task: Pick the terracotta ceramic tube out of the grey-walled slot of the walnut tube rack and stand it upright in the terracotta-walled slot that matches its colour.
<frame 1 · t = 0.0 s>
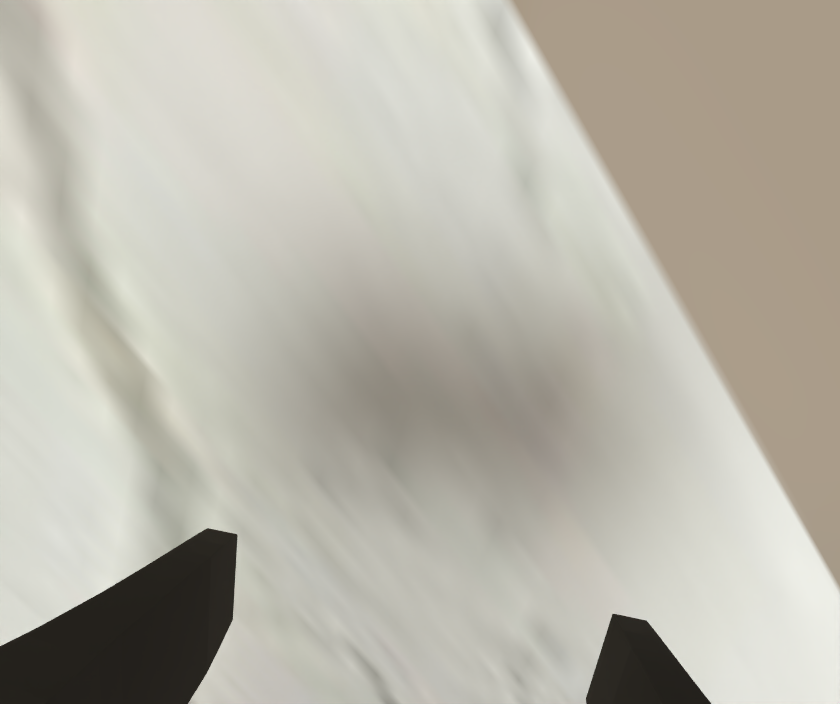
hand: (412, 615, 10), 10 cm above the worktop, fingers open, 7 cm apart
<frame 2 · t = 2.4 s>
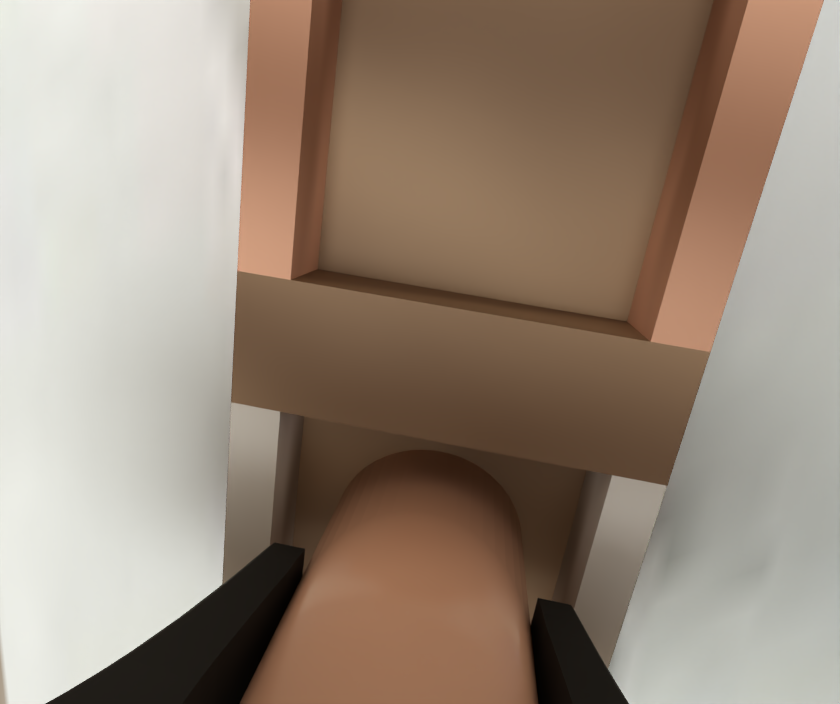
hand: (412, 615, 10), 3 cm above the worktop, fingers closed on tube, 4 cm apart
tube: (426, 534, 12), point 1 cm above the worktop, touching gripper, rack
rack: (460, 344, 12), on the worktop
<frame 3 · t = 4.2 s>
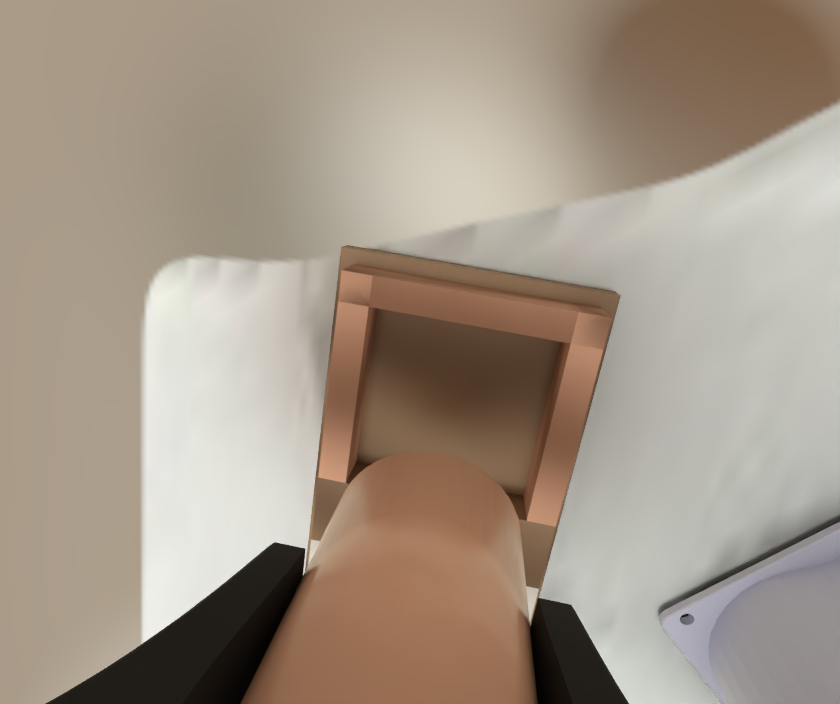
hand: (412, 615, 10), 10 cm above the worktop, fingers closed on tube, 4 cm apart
tube: (426, 535, 13), point 8 cm above the worktop, touching gripper
rack: (435, 497, 21), on the worktop
when the fingers open (4 cm above the worktop, at t = 5.9 s): tube stays where it is, resting on rack.
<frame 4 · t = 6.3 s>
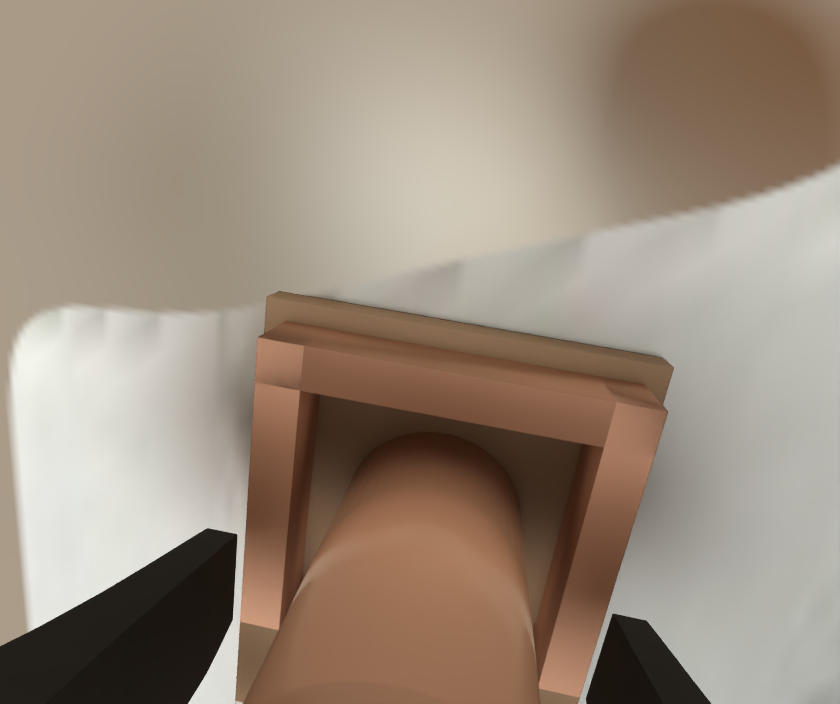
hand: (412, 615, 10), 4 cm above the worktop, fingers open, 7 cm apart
tube: (432, 511, 13), point 1 cm above the worktop, touching rack
rack: (411, 625, 15), on the worktop
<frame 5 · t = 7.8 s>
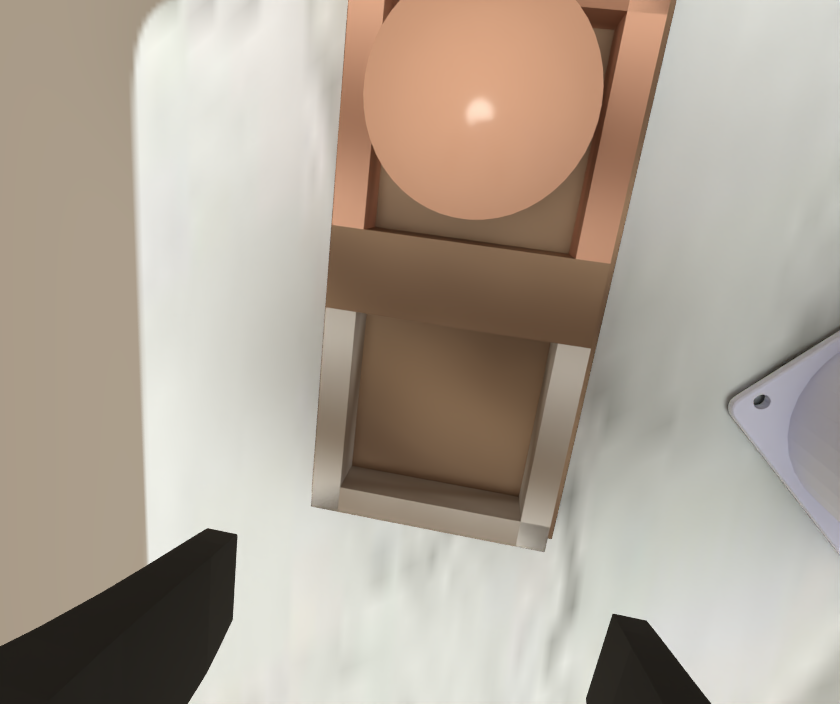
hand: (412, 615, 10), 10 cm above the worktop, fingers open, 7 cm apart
tube: (485, 138, 16), point 1 cm above the worktop, touching rack
rack: (465, 276, 18), on the worktop
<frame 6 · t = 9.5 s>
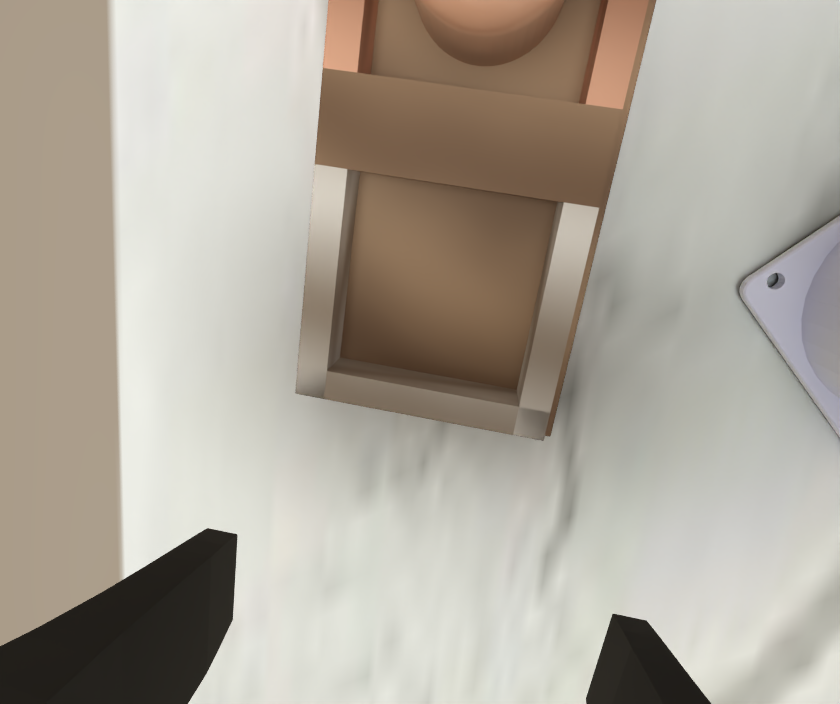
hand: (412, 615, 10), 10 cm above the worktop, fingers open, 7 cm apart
rack: (465, 146, 17), on the worktop
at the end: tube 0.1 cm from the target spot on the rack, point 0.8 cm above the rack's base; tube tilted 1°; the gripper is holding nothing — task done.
